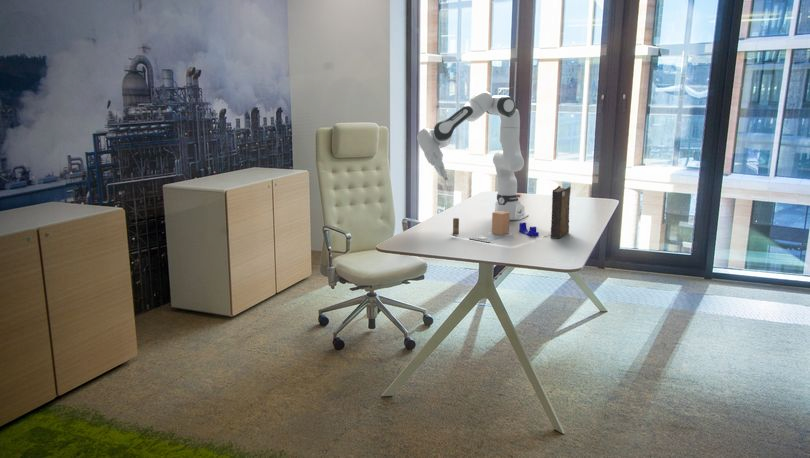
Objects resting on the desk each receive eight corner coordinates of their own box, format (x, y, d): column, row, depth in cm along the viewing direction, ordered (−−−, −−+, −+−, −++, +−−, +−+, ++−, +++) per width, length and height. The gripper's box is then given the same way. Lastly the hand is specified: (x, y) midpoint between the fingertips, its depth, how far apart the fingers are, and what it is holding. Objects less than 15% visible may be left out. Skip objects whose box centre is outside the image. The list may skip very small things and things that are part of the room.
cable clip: (538, 238, 329) (539, 226, 328) (530, 238, 327) (531, 227, 326) (526, 233, 340) (527, 222, 339) (519, 233, 338) (519, 222, 337)
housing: (498, 231, 339) (499, 210, 337) (509, 232, 335) (509, 212, 333) (491, 233, 335) (492, 212, 332) (502, 235, 331) (502, 214, 328)
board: (494, 232, 341) (494, 219, 340) (513, 235, 333) (513, 222, 332) (469, 239, 325) (469, 226, 324) (488, 243, 318) (489, 229, 316)
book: (558, 239, 325) (561, 190, 320) (545, 237, 329) (547, 189, 324) (570, 233, 339) (572, 186, 333) (557, 231, 343) (559, 185, 337)
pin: (455, 234, 337) (455, 217, 335) (459, 235, 335) (460, 218, 333) (451, 235, 335) (452, 218, 333) (456, 236, 333) (456, 219, 331)
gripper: (438, 148, 337) (450, 170, 334) (441, 158, 357) (452, 180, 354) (427, 153, 337) (439, 176, 334) (431, 164, 357) (442, 185, 354)
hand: (446, 178), depth 344 cm, fingers open, 8 cm apart
